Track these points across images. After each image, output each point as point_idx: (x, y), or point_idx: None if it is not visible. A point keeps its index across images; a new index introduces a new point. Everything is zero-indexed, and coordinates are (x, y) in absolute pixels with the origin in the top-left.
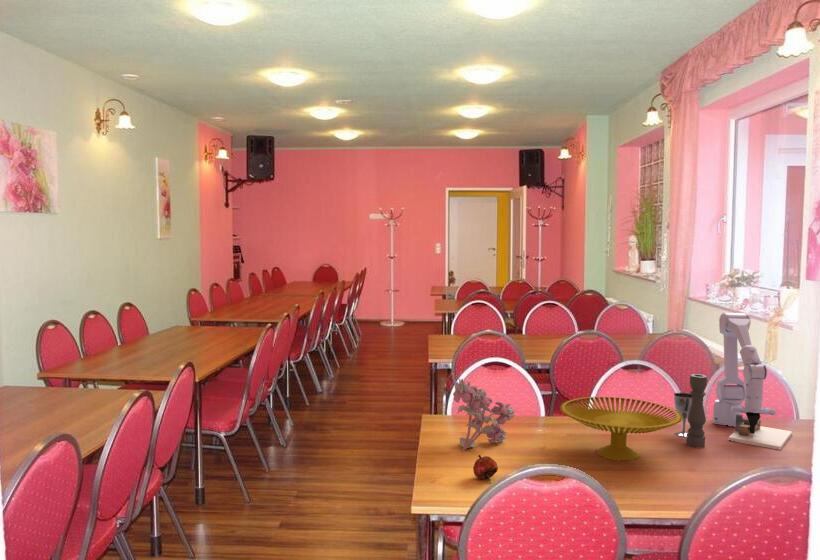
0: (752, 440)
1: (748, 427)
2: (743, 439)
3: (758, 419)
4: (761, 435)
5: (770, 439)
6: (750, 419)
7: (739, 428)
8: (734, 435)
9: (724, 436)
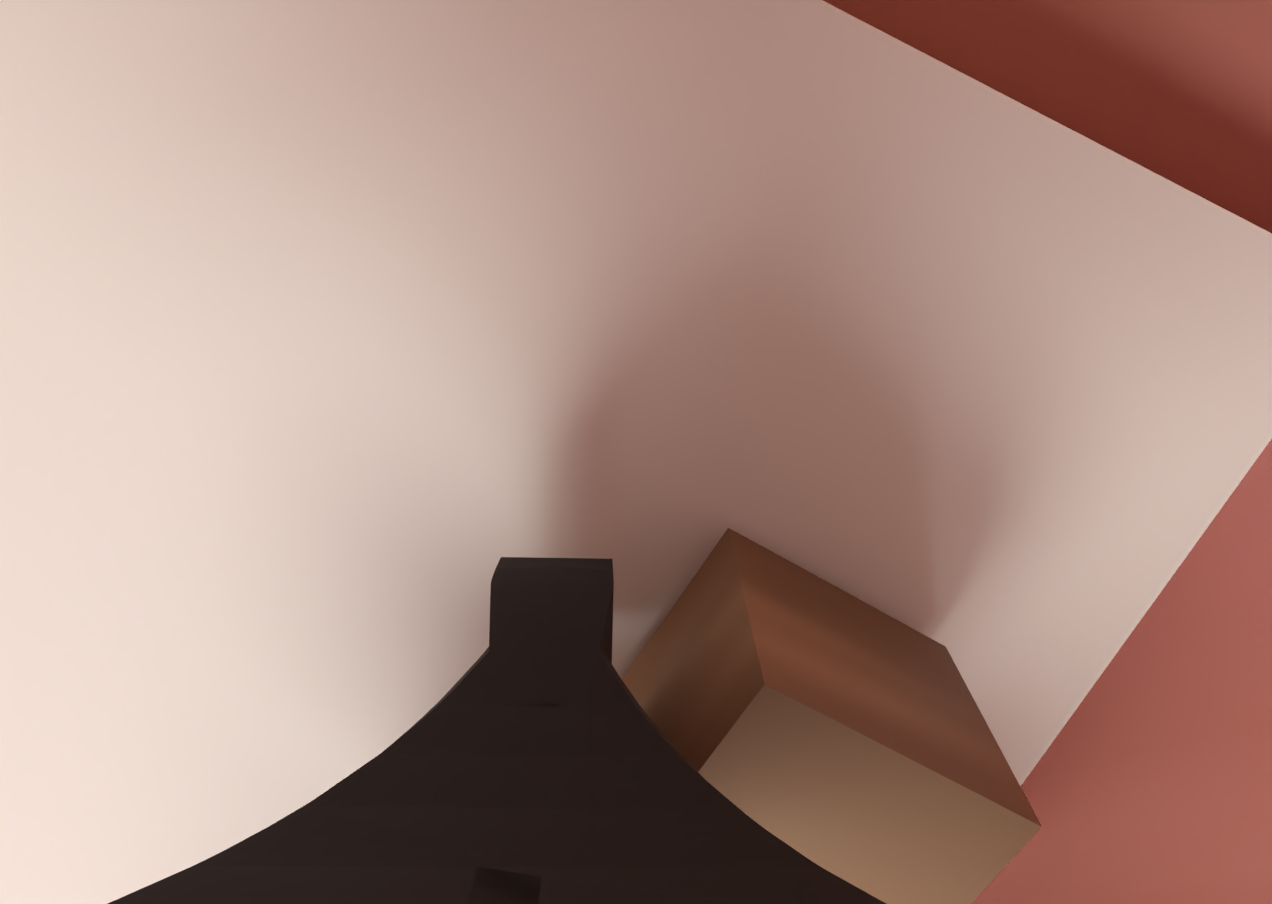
0: (656, 89)
1: None
2: (952, 131)
3: (201, 869)
4: (255, 728)
5: (16, 381)
6: (756, 859)
7: (984, 756)
8: (1092, 530)
9: (1247, 632)
